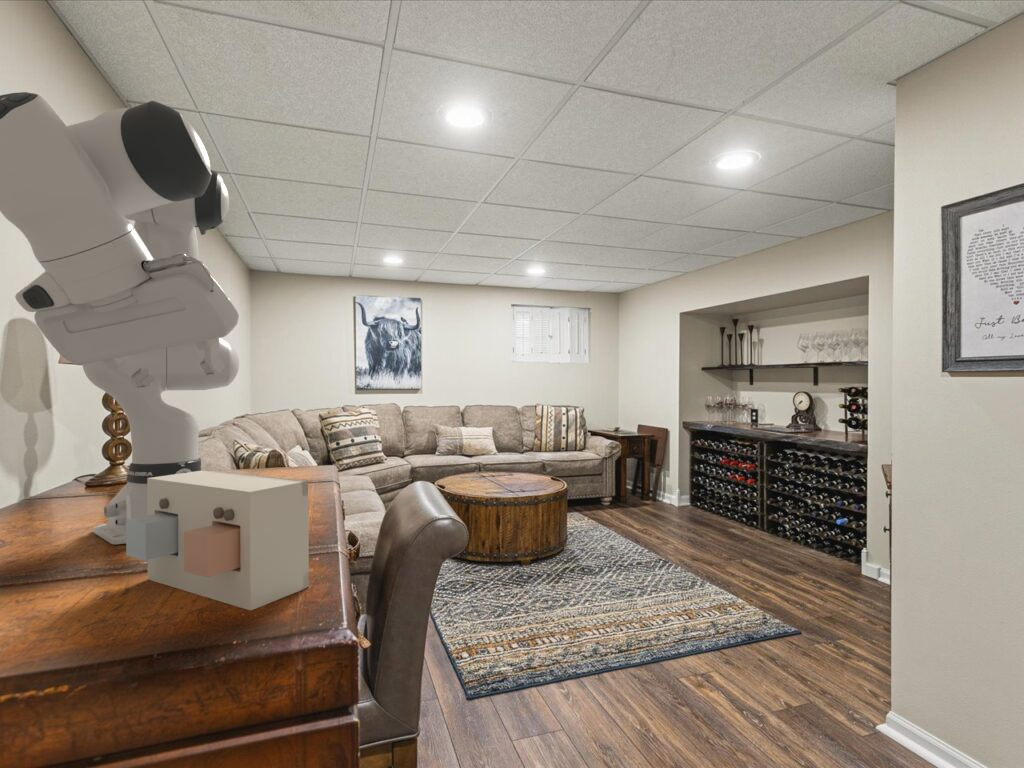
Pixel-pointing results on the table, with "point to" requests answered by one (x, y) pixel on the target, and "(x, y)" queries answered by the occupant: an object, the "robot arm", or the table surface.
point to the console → (263, 533)
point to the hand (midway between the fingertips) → (180, 378)
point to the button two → (212, 549)
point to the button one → (152, 536)
